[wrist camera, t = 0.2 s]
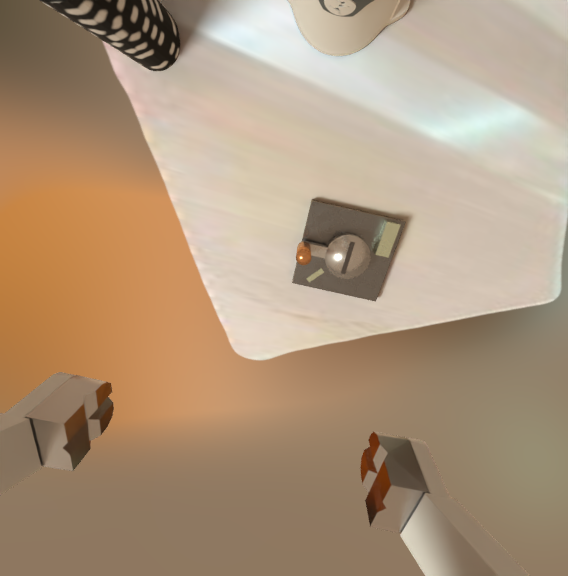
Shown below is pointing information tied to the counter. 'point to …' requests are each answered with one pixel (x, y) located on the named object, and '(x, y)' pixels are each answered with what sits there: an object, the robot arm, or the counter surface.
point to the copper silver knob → (338, 255)
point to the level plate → (368, 226)
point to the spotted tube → (128, 27)
